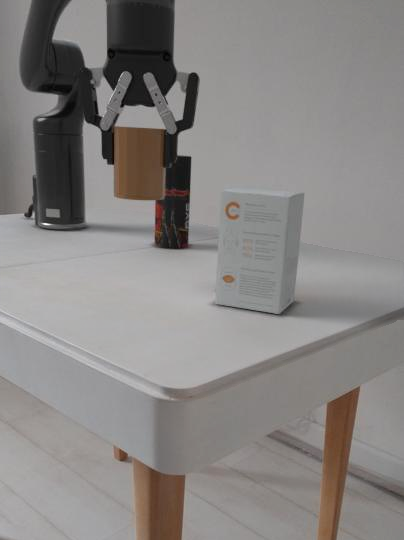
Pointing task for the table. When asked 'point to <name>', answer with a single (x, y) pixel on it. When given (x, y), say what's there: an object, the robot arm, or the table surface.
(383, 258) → the table surface
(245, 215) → the small box
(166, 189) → the deodorant
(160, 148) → the cup
